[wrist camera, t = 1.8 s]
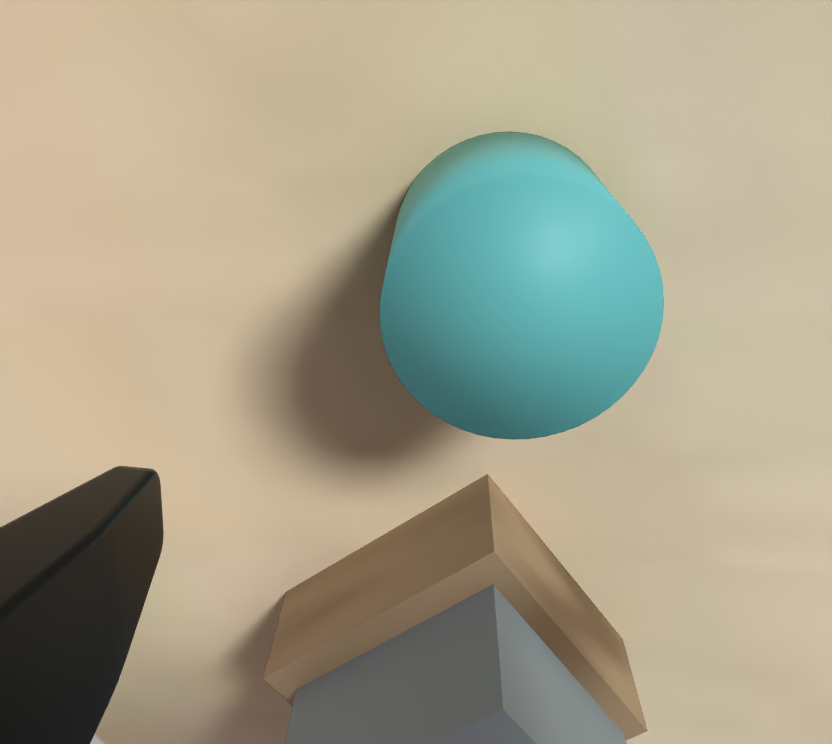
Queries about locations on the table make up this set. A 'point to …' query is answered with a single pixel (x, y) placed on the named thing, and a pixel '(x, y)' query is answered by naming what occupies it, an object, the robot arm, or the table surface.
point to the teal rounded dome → (517, 290)
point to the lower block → (451, 599)
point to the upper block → (453, 688)
